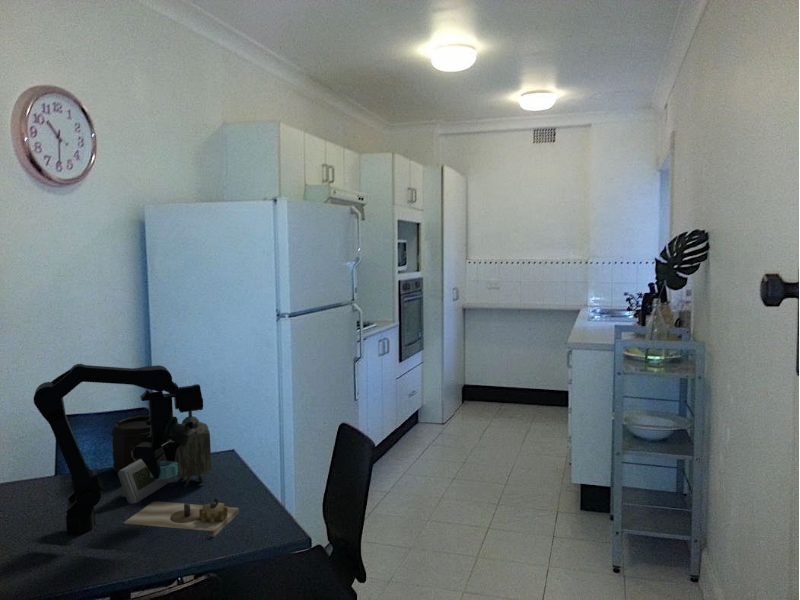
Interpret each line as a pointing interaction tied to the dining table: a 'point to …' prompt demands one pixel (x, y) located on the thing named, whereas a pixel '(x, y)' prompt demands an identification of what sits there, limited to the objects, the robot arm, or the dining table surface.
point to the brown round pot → (129, 440)
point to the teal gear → (167, 469)
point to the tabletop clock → (195, 452)
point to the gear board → (186, 516)
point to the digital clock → (138, 482)
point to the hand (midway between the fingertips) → (164, 473)
